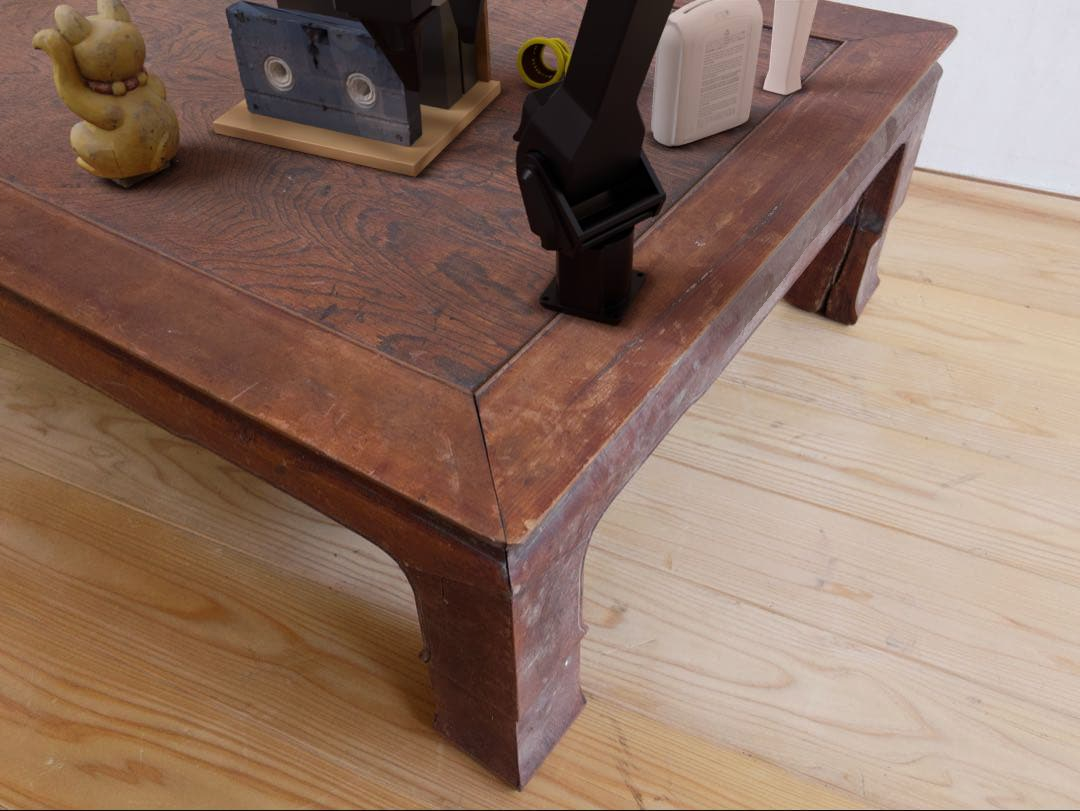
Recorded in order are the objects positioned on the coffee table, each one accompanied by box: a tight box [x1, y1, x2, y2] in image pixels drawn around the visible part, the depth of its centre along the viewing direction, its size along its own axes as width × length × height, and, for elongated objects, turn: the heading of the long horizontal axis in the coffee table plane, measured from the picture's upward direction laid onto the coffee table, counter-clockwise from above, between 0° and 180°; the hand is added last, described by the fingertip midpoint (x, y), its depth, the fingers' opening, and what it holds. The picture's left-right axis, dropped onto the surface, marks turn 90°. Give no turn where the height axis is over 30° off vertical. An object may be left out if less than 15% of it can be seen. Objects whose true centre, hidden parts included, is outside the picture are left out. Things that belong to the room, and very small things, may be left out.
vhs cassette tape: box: [225, 0, 422, 146], centre depth 89 cm, size 18×3×10 cm, turn 64°
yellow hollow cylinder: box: [516, 36, 572, 89], centre depth 99 cm, size 10×5×5 cm, turn 57°
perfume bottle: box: [762, 0, 819, 96], centre depth 95 cm, size 5×4×15 cm
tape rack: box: [212, 0, 502, 178], centre depth 93 cm, size 18×22×11 cm
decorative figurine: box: [31, 0, 181, 189], centre depth 85 cm, size 10×8×15 cm
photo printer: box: [650, 0, 764, 147], centre depth 89 cm, size 10×4×12 cm, turn 123°
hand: (442, 66), depth 77 cm, fingers open, 9 cm apart
